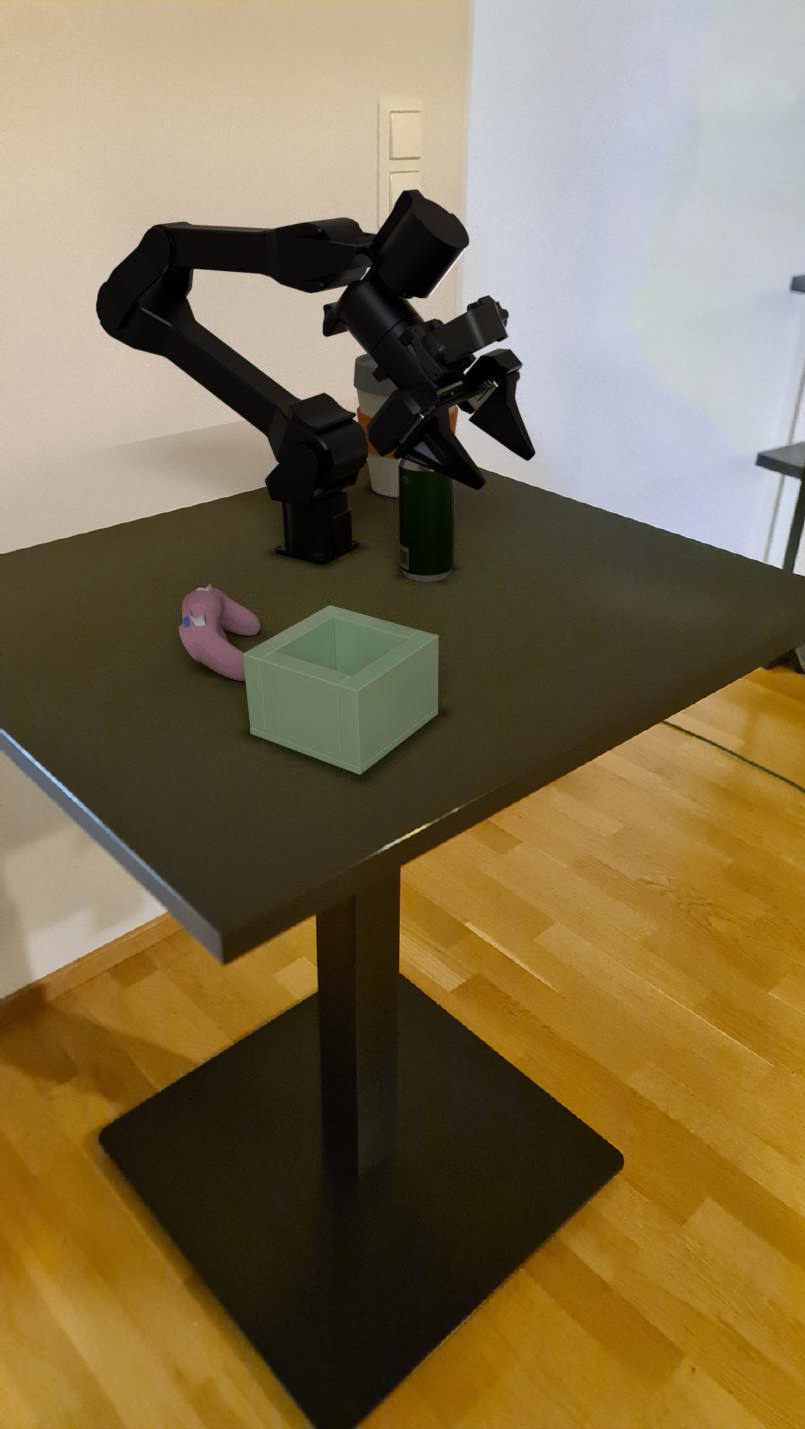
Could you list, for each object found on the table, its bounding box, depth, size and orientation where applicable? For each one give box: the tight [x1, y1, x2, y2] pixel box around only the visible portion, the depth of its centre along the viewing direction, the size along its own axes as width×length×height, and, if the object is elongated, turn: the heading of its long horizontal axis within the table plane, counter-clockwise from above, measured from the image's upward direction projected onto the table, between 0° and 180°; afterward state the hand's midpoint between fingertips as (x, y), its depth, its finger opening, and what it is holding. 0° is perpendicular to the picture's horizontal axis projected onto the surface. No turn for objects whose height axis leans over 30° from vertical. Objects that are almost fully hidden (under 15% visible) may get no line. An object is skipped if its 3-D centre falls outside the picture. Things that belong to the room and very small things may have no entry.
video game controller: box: [178, 583, 261, 682], centre depth 84 cm, size 10×5×7 cm, turn 5°
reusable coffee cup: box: [353, 353, 459, 498], centre depth 122 cm, size 12×13×15 cm
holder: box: [243, 604, 440, 776], centre depth 74 cm, size 10×10×7 cm
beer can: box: [398, 458, 456, 583], centre depth 98 cm, size 5×5×12 cm
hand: (508, 471), depth 91 cm, fingers open, 9 cm apart
